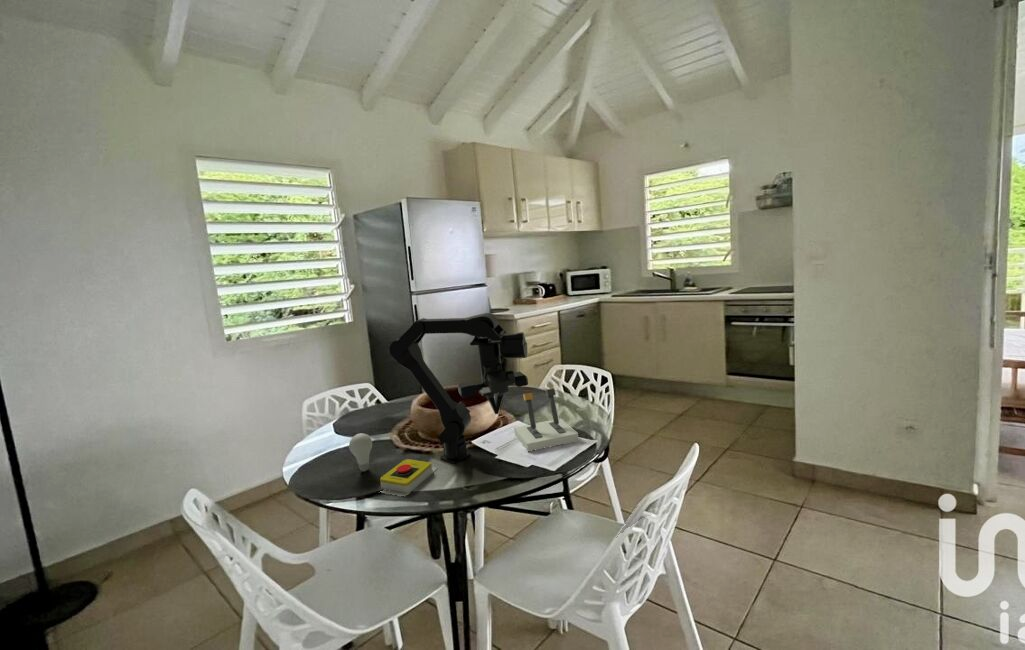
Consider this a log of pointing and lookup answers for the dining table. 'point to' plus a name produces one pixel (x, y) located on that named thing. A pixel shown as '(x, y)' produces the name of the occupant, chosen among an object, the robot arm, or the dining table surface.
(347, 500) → the dining table surface
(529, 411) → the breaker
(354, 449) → the lightbulb
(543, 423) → the breaker panel
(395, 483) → the emergency button
